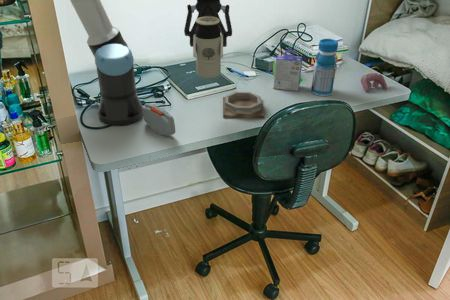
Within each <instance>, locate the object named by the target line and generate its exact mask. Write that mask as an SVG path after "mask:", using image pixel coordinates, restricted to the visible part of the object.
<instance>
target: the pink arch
mask: <svg viewBox="0 0 450 300" xmlns="http://www.w3.org/2000/svg"><path fill="white" fill-rule="evenodd" d="M360 83H361V85H362V88H363V90H364V92H365V93H369V90H370V89H371V88H372V87H373V88H374V87H375V89H376V88H378V87H379V85H380V86H381V88H382V90H384V89H385V90H387V88H388V85H387V82H386V80H385V77H384V76H383V75H382V74H381V73H376V72H372V73H368V74H365V75H363V76H361V78H360Z"/></svg>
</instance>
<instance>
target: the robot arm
mask: <svg viewBox="0 0 450 300" xmlns="http://www.w3.org/2000/svg"><path fill="white" fill-rule="evenodd" d="M69 1H70V2H71V5H72V7H73V8H74V11H75V13H76V14H77V17H78V18H79V20H80V22H81V24H82V26H83V28H84V30H85V32H86V35H88V37H87V41H86V43H87V46H88V47H89V49H90V51H91V53H92V55H93V57H94V63H95V64H94V65H95V67H96V72H97V73H96V74H97V79H98V85H99V86H98V87H99V92H100V99H99V100H100V101H99V105H98V109H97V114H98V120H99V121H100V122H101V123H102V124H104V125H108V126H112V127H125V126H129V125H133V124H135V123H137V122H139V121H140V120H142V118H143V108H144V107H143V104H142V102H141V100H140V98H139V96H138V94H137V85H136V77H135V69H134V61H135V60H134V55H133V53H132V51H131V49H130V48H129V46H128V43H127V42H126V41H125V39H124V37H123V35H122V33H121V31H120V30H119V28H118V27H116V26H113V25H112V22H111V21H110V19H109V16H108V14H107V12H106V9H105V7H104V5H103V4H102V2H101V0H69ZM186 8H187V15H186V20H185V25H184V29H183V33H184V36H185V37H189V46H190V47H191V48H192V56H193V58H196V37H195V30H196V28H197V22H196V20H194V22H193V25H192V28H191V23H192V19H193V14H194V12H195V10H196V11H197V17H196V19H197V18H200V17H207V16H208V17H216V18H218V19H219V20H220V22H219V28H220V30H221V58H224V48H226V47H227V46H228V45H227V44H228V42H227V40H228V39H227V38H228V37H232V36H233V27H232V22H231V18H230V17H231V16H230V5H229V4H226V5H222V3H221V0H196V3H195V5H191V4H188V5H187V6H186ZM220 11H222V13H223V14H224V18H225V19H224V20H225V24H226V29H225V26H224V25H223V22H222V20H221V17H220V15H219V13H220Z"/></svg>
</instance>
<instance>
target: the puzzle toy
mask: <svg viewBox="0 0 450 300" xmlns="http://www.w3.org/2000/svg"><path fill="white" fill-rule="evenodd" d="M275 63H276V59H275V58H274V59H273V64H272V65H273V67H272V74H273V77H274V76H275Z"/></svg>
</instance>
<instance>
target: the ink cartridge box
mask: <svg viewBox="0 0 450 300" xmlns="http://www.w3.org/2000/svg"><path fill="white" fill-rule="evenodd" d="M284 51H285V52H284V55H283V54H281V55H280V54H277V56H276V57H275V58H276V59H275V60H276V63H275V76H274V75H273V78H274V79H273V89H275V90H283V91H284V90H286V91H296V92H298V91H299V88H300V84H301V78H302V77H301V75H302V68H303V66H302V65H303V56H299V55H295V54H296V50H288V49H285V50H284ZM288 53H291V54H288Z"/></svg>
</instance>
